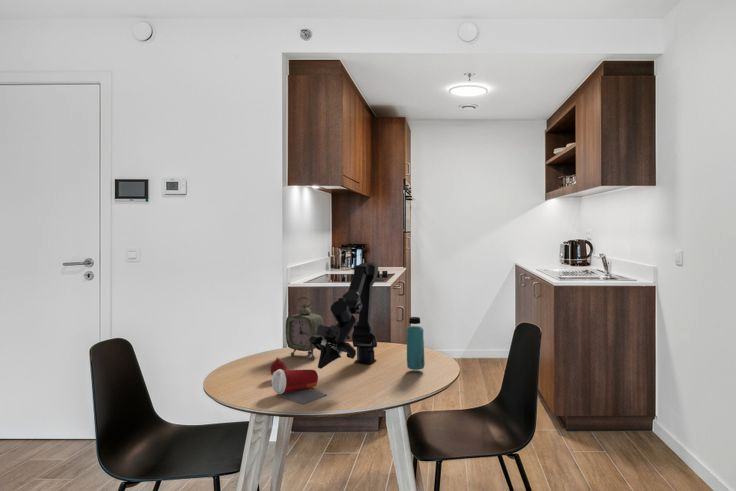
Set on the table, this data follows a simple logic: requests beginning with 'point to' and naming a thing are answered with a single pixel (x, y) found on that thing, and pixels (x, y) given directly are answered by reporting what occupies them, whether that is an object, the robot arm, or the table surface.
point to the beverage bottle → (415, 345)
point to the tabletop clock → (302, 329)
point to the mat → (302, 395)
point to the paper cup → (293, 380)
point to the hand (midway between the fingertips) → (319, 368)
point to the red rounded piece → (277, 365)
